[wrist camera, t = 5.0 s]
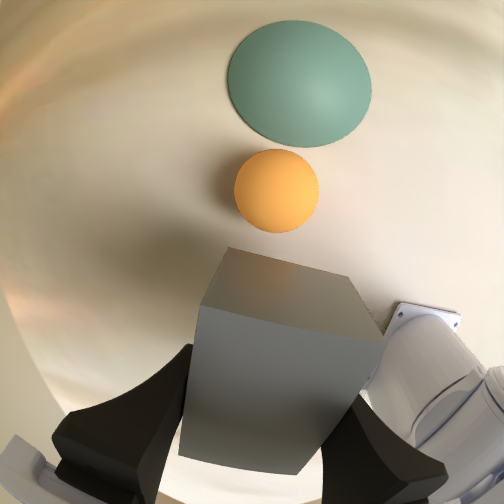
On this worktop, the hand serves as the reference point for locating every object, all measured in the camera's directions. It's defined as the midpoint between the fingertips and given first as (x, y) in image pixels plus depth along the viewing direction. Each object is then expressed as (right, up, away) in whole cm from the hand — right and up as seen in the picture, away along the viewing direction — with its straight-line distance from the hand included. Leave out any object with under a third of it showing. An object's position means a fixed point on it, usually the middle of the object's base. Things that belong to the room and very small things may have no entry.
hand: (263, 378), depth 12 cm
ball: (+1, +9, +5) cm, 10 cm away
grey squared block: (0, +1, +3) cm, 3 cm away
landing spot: (+3, +17, +5) cm, 18 cm away
